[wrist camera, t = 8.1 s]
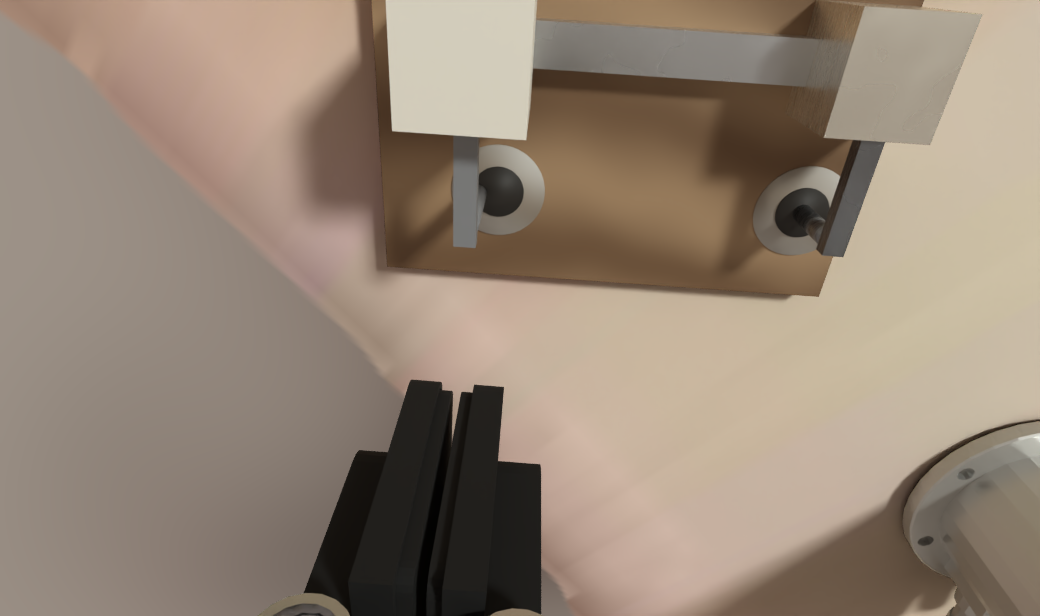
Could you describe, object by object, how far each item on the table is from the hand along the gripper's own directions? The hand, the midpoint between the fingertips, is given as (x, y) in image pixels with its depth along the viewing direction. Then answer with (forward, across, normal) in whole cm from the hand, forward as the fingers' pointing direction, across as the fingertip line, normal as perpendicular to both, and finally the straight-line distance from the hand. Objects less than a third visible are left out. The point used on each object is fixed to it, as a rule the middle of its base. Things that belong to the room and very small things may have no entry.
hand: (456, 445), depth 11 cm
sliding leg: (+16, +1, -3) cm, 16 cm away
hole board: (+18, -5, -2) cm, 18 cm away
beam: (+16, -5, -3) cm, 17 cm away
